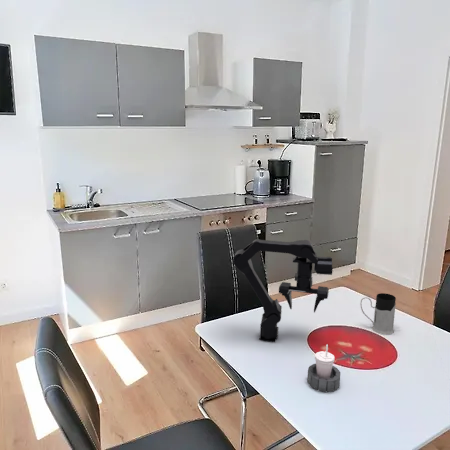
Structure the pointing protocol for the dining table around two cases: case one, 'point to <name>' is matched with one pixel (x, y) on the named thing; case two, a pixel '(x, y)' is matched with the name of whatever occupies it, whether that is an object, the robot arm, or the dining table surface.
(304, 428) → the dining table surface
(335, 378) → the stone ring
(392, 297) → the grey mug
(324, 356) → the smoothie
